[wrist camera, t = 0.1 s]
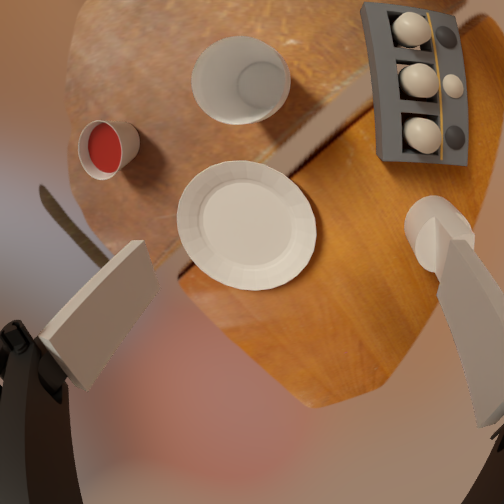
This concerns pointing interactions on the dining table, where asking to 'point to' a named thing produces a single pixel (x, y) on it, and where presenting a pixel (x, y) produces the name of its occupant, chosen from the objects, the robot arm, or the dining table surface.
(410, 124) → the button
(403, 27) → the button
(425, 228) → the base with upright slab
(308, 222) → the plate
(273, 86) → the cup
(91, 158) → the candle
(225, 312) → the dining table surface
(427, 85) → the button
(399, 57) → the board
